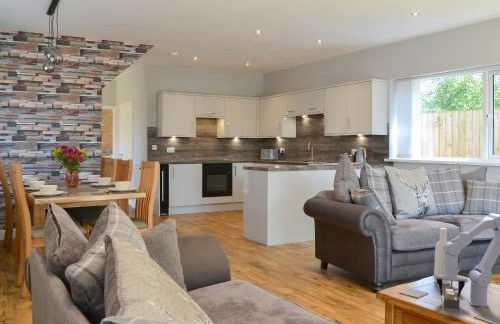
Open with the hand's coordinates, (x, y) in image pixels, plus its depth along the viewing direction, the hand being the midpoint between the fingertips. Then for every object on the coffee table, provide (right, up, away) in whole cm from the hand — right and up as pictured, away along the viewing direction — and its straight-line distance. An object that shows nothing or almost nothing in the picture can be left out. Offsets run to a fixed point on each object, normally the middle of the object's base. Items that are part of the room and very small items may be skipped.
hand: (449, 295), depth 223 cm
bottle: (+11, -3, +36) cm, 37 cm away
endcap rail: (-1, -4, -2) cm, 4 cm away
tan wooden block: (0, -3, 0) cm, 3 cm away
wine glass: (+11, -3, +24) cm, 26 cm away
